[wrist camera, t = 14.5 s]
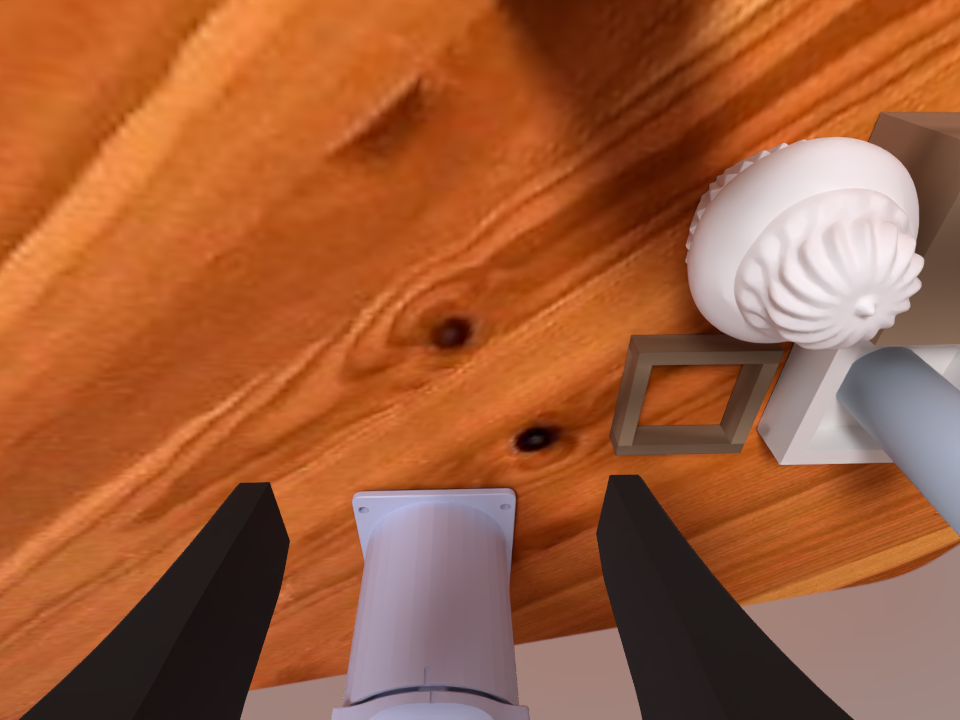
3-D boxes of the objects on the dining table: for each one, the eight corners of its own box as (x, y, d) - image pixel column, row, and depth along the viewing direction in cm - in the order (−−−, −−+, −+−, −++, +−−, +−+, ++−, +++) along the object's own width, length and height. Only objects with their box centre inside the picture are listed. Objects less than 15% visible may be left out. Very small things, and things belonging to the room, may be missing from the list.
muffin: (619, 253, 19) (687, 373, 13) (727, 74, 16) (881, 134, 10) (755, 307, 20) (869, 435, 15) (881, 155, 17) (1088, 246, 12)
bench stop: (884, 284, 20) (966, 344, 17) (807, 284, 20) (874, 345, 17) (974, 112, 16) (1100, 147, 13) (880, 112, 16) (984, 147, 13)
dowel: (906, 400, 23) (1056, 544, 17) (828, 412, 23) (950, 558, 17) (929, 340, 21) (1106, 478, 15) (844, 354, 21) (987, 496, 15)
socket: (729, 434, 24) (740, 453, 24) (609, 436, 24) (615, 455, 23) (769, 333, 21) (784, 350, 20) (631, 335, 21) (639, 352, 20)
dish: (903, 426, 25) (938, 461, 23) (756, 428, 24) (780, 464, 23) (991, 294, 20) (1042, 325, 19) (815, 296, 20) (849, 327, 18)
